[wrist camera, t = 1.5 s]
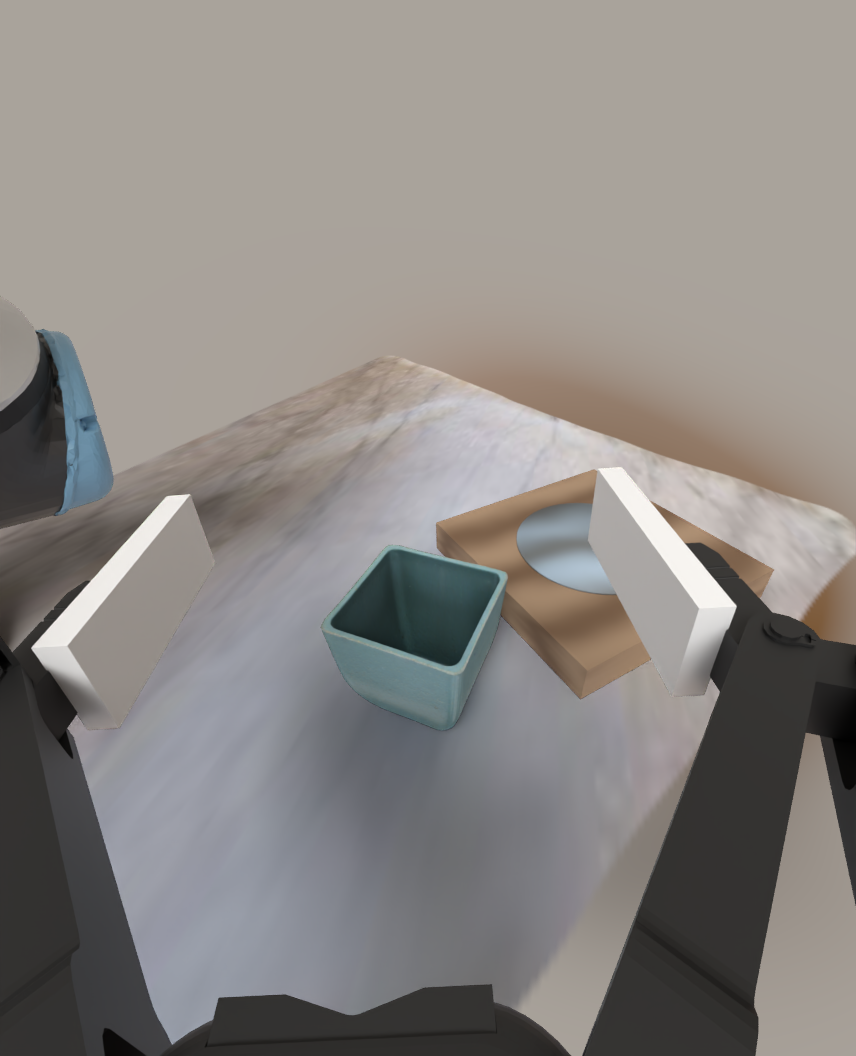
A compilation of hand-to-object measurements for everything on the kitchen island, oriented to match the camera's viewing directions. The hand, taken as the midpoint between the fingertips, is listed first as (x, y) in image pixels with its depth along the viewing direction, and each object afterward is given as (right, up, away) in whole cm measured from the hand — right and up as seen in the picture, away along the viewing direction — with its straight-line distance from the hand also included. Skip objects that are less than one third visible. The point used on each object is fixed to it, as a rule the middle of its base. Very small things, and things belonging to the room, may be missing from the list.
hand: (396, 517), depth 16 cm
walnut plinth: (+15, -4, +29) cm, 33 cm away
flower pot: (+1, -12, +19) cm, 22 cm away
